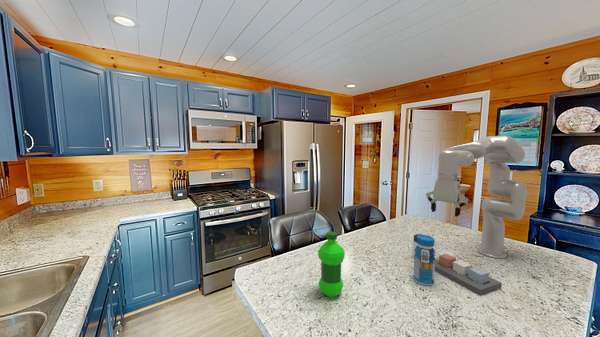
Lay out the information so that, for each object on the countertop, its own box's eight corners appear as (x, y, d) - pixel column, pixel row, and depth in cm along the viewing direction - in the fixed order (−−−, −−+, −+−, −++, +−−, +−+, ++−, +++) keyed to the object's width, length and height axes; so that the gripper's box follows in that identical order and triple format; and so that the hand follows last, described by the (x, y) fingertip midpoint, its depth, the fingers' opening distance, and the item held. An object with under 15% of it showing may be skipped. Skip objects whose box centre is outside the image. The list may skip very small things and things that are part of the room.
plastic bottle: (317, 285, 99) (317, 228, 97) (341, 286, 98) (343, 229, 96) (318, 300, 89) (319, 238, 87) (345, 301, 88) (347, 238, 86)
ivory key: (459, 268, 109) (460, 259, 108) (471, 273, 104) (471, 264, 104) (452, 270, 107) (453, 261, 107) (463, 275, 102) (464, 266, 102)
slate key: (475, 275, 102) (476, 267, 102) (488, 281, 98) (489, 272, 97) (468, 277, 100) (468, 269, 100) (480, 284, 96) (481, 274, 96)
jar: (424, 263, 118) (425, 241, 117) (409, 257, 125) (410, 236, 124) (433, 259, 123) (434, 237, 122) (418, 253, 129) (419, 232, 128)
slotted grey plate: (447, 262, 119) (447, 257, 119) (501, 288, 97) (501, 282, 97) (427, 267, 114) (427, 262, 114) (479, 295, 92) (480, 289, 92)
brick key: (445, 261, 115) (446, 253, 115) (455, 266, 111) (456, 258, 110) (438, 263, 113) (439, 255, 113) (448, 268, 109) (448, 259, 109)
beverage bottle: (408, 277, 105) (410, 235, 103) (421, 274, 108) (423, 232, 106) (425, 288, 97) (427, 242, 95) (438, 283, 100) (441, 239, 99)
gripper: (472, 178, 102) (469, 216, 104) (430, 175, 115) (428, 208, 117) (467, 180, 97) (464, 219, 99) (424, 176, 111) (422, 211, 112)
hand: (444, 213), depth 108 cm, fingers open, 9 cm apart
